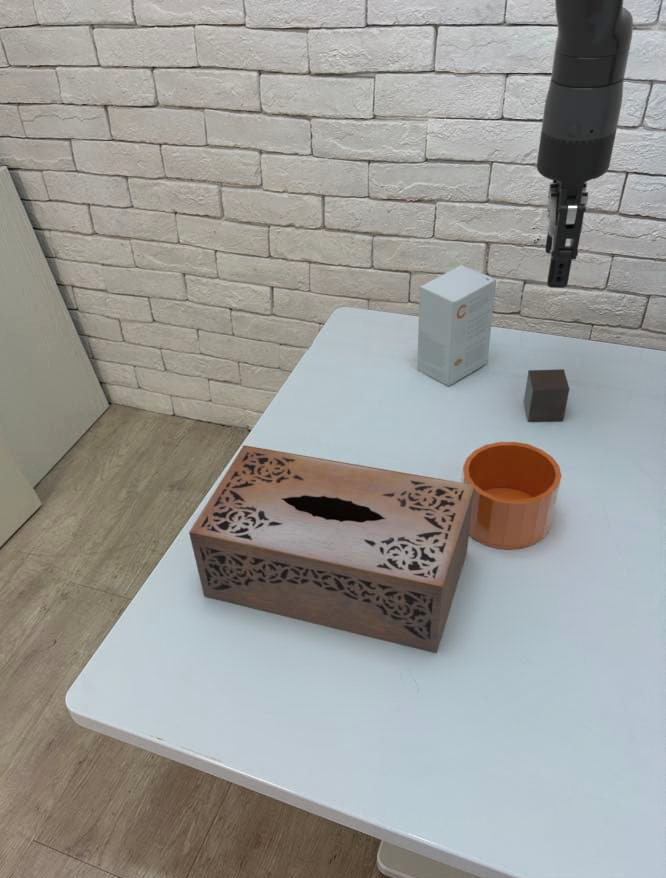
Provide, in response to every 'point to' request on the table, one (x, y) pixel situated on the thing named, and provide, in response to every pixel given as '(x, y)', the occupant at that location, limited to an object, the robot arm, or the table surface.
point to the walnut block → (546, 395)
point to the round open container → (511, 494)
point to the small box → (455, 324)
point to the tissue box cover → (335, 544)
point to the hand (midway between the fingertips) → (555, 268)
